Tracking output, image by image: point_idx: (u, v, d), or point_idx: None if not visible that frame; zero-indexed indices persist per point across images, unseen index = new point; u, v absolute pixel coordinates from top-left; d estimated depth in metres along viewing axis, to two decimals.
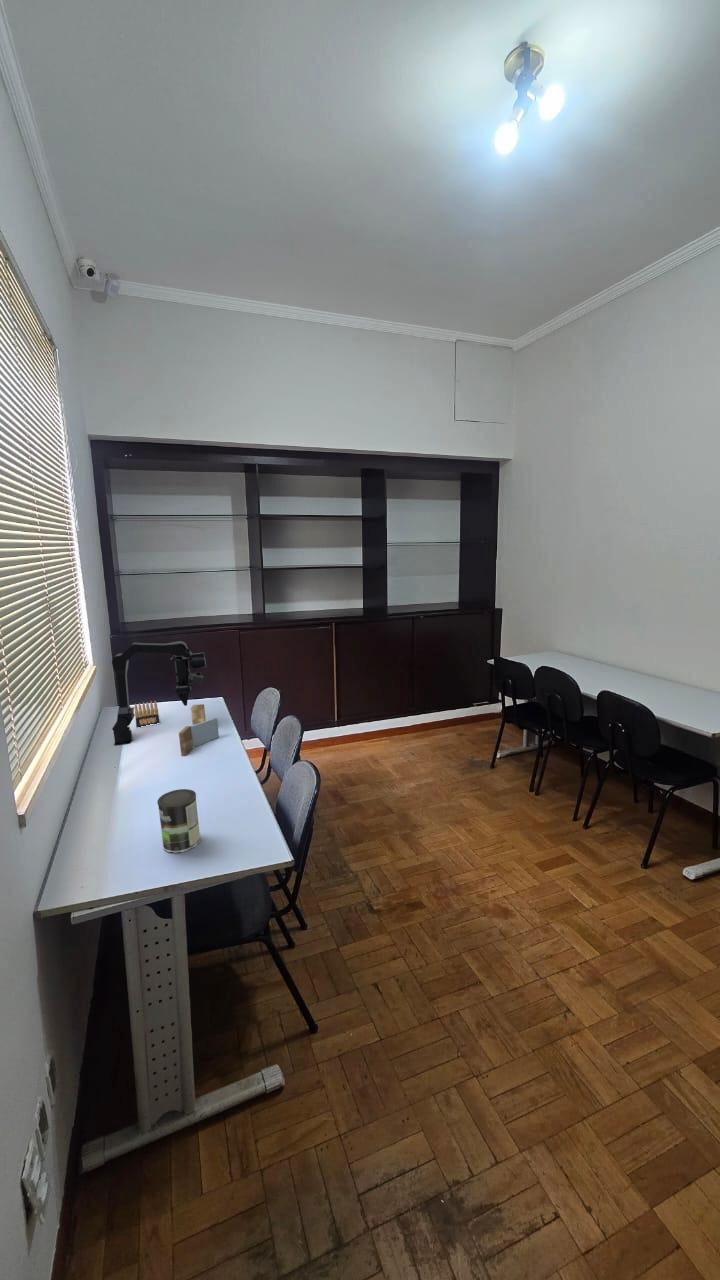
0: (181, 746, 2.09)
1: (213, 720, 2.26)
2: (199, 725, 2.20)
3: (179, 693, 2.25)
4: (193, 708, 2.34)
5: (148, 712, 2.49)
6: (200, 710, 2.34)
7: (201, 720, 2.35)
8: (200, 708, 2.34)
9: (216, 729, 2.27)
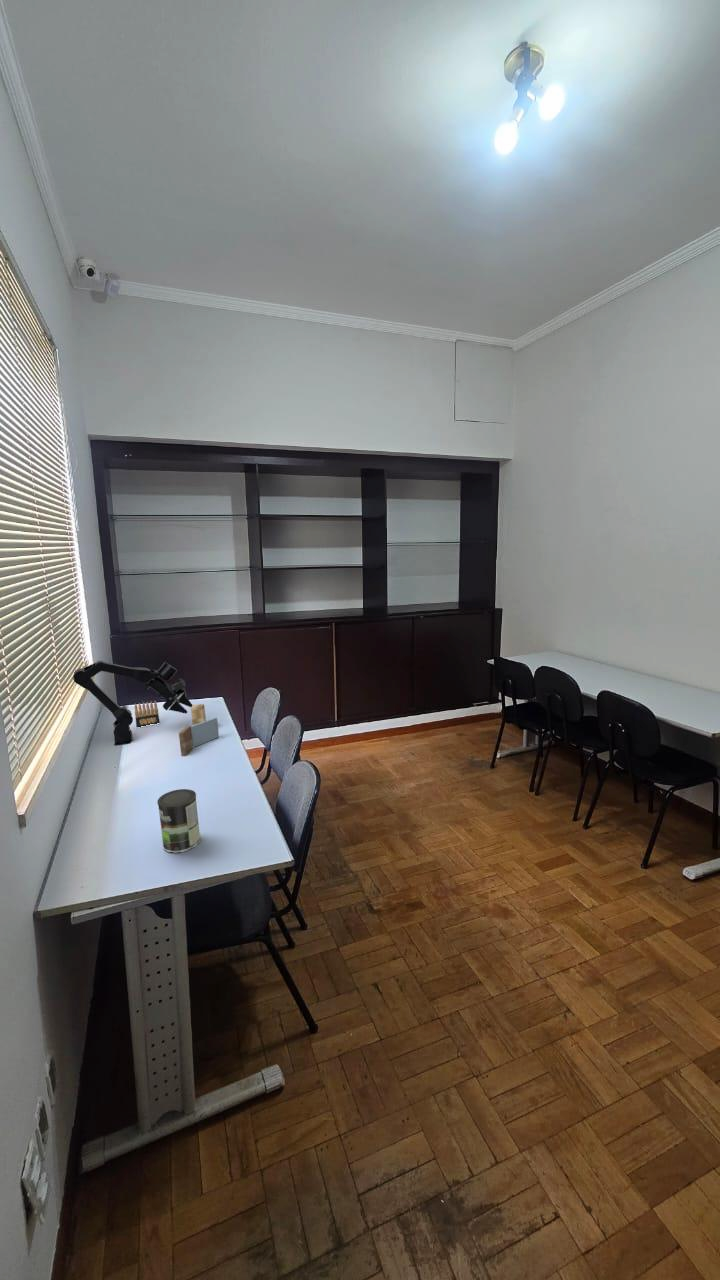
0: (181, 746, 2.09)
1: (213, 720, 2.26)
2: (199, 725, 2.20)
3: (170, 708, 2.27)
4: (194, 708, 2.34)
5: (148, 712, 2.49)
6: (200, 710, 2.34)
7: (201, 720, 2.35)
8: (200, 708, 2.34)
9: (216, 729, 2.27)
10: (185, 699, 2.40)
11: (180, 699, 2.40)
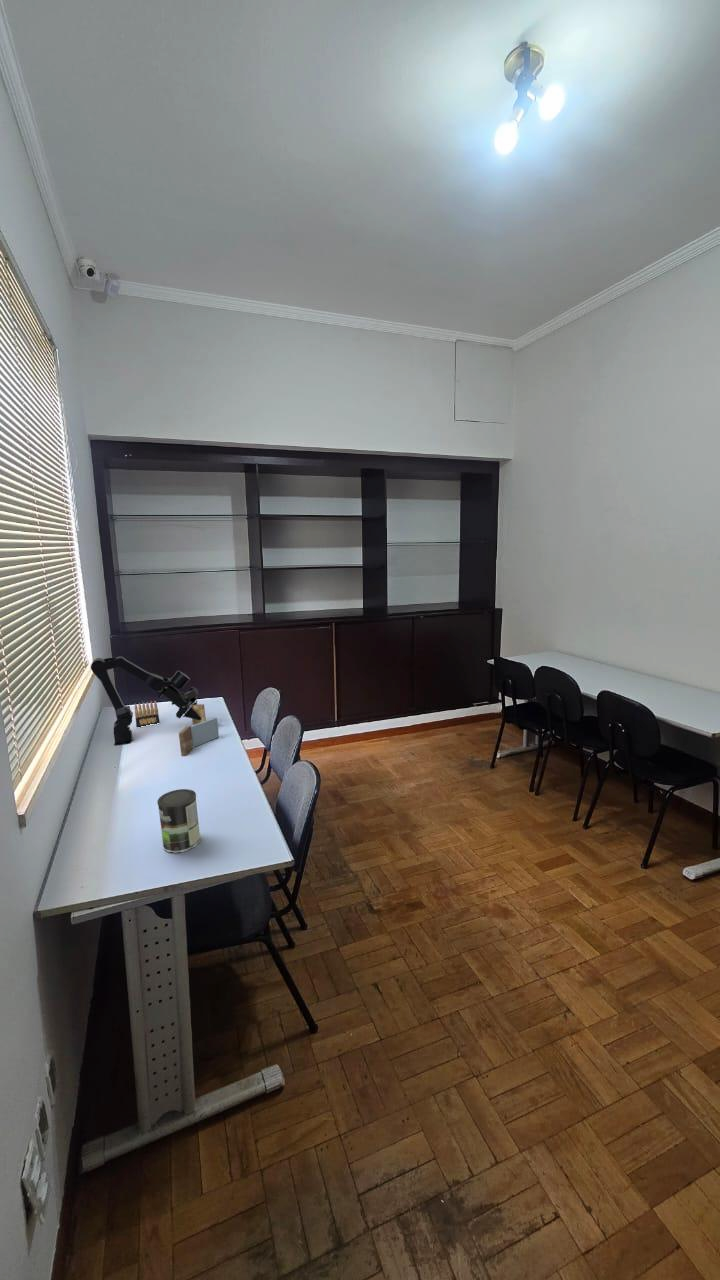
0: (181, 746, 2.09)
1: (213, 720, 2.26)
2: (199, 725, 2.20)
3: (184, 715, 2.31)
4: (194, 708, 2.34)
5: (148, 712, 2.49)
6: (200, 710, 2.34)
7: (201, 720, 2.35)
8: (200, 708, 2.34)
9: (216, 729, 2.27)
10: None
11: None
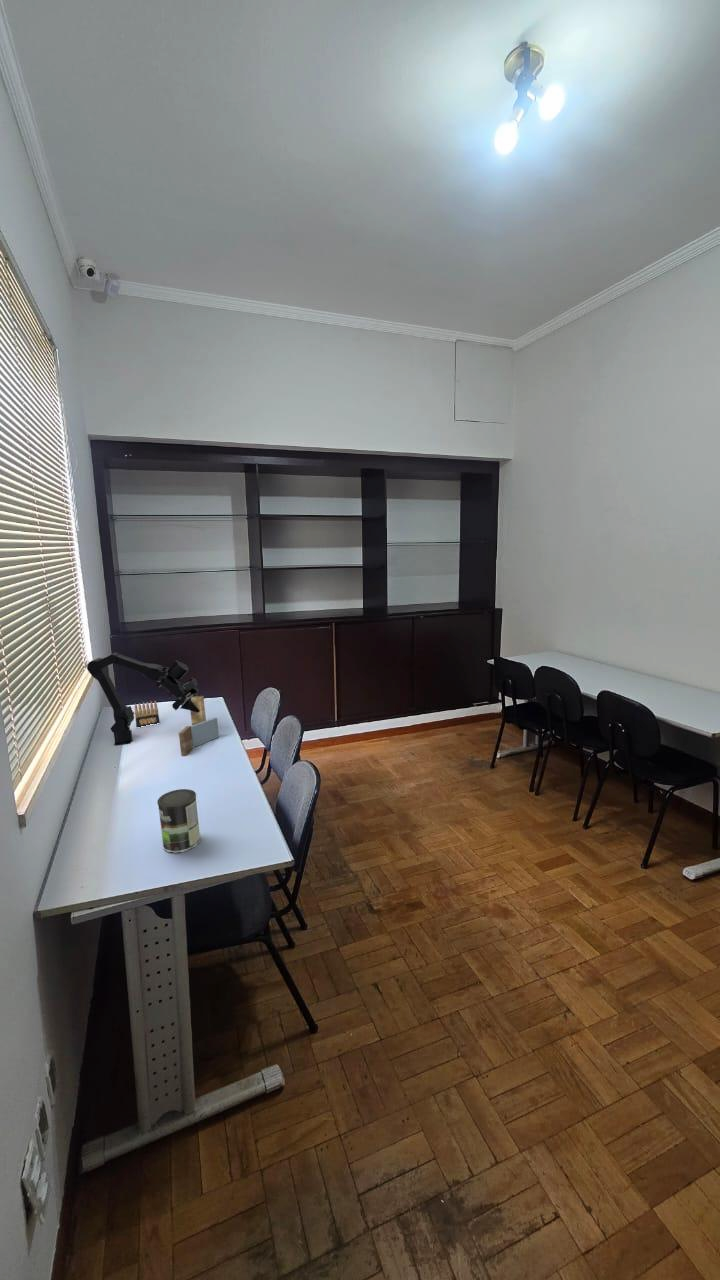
0: (181, 746, 2.09)
1: (213, 720, 2.26)
2: (199, 725, 2.20)
3: (181, 706, 2.22)
4: (192, 700, 2.25)
5: (148, 712, 2.49)
6: (198, 702, 2.25)
7: (199, 712, 2.25)
8: (198, 700, 2.24)
9: (216, 729, 2.27)
10: None
11: None
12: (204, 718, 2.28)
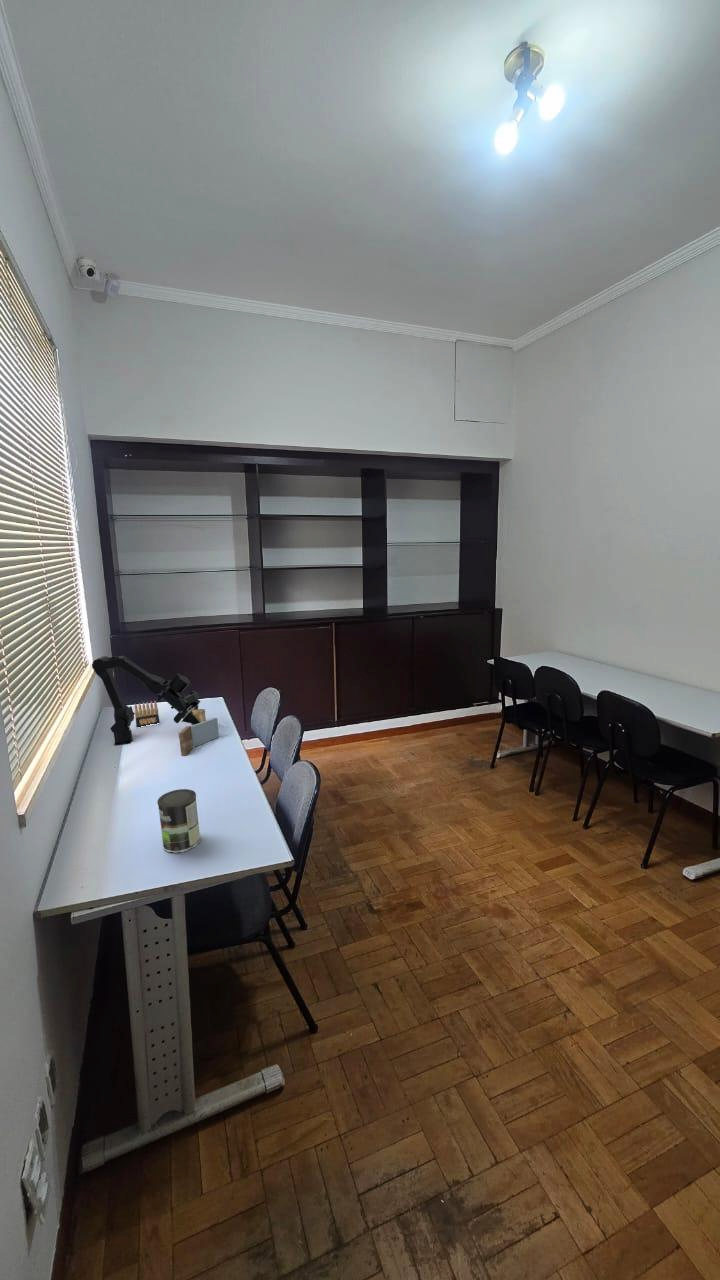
0: (181, 746, 2.09)
1: (213, 720, 2.26)
2: (199, 725, 2.20)
3: (183, 720, 2.22)
4: (193, 713, 2.25)
5: (148, 712, 2.49)
6: (200, 715, 2.25)
7: None
8: (200, 713, 2.25)
9: (216, 729, 2.27)
10: None
11: None
12: None
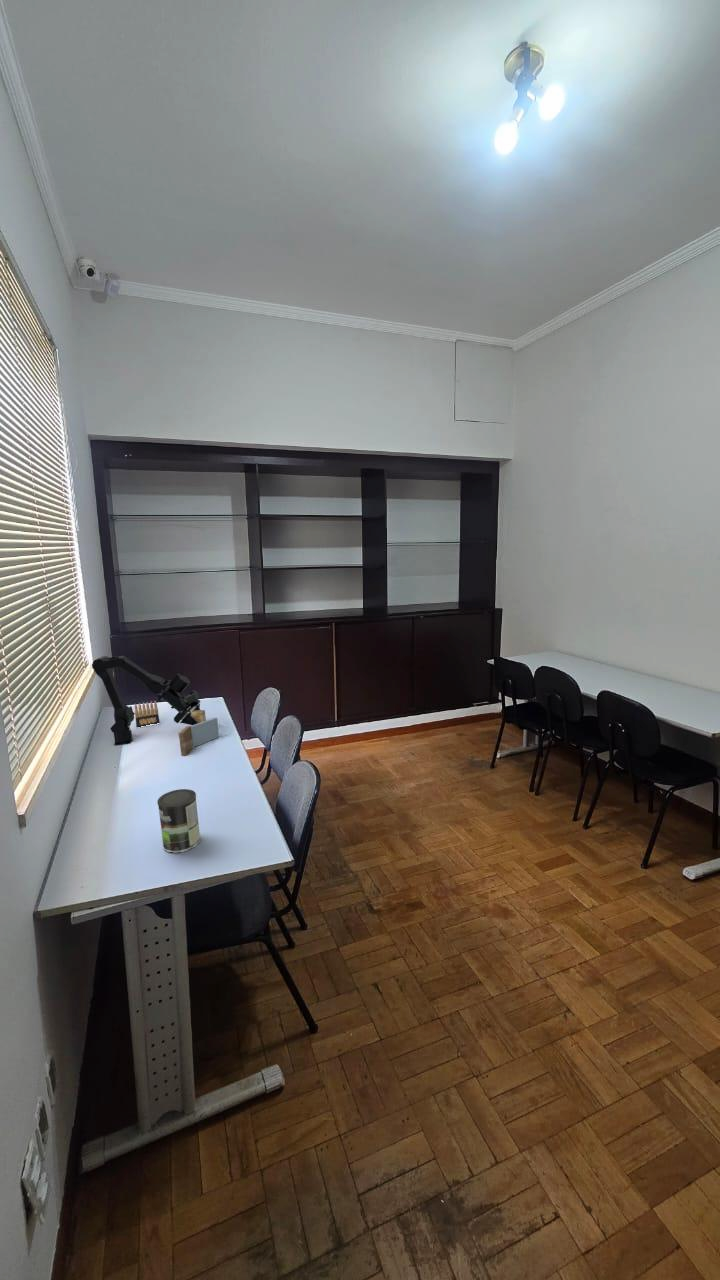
0: (181, 746, 2.09)
1: (213, 720, 2.26)
2: (199, 725, 2.20)
3: (181, 721, 2.21)
4: (193, 714, 2.25)
5: (148, 712, 2.49)
6: (200, 716, 2.25)
7: None
8: (200, 714, 2.25)
9: (216, 729, 2.27)
10: None
11: None
12: None
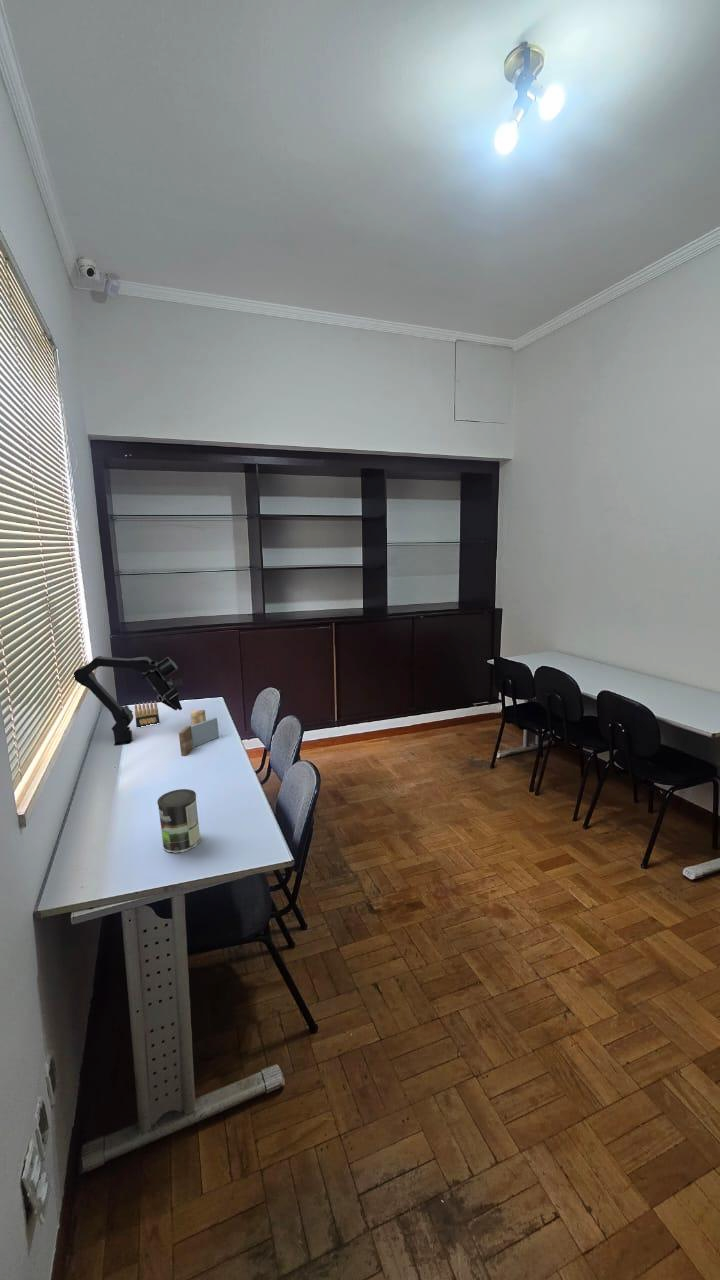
0: (181, 746, 2.09)
1: (213, 720, 2.26)
2: (199, 725, 2.20)
3: (170, 699, 2.22)
4: (193, 714, 2.25)
5: (148, 712, 2.49)
6: (200, 716, 2.25)
7: None
8: (200, 714, 2.25)
9: (216, 729, 2.27)
10: None
11: (166, 700, 2.34)
12: None
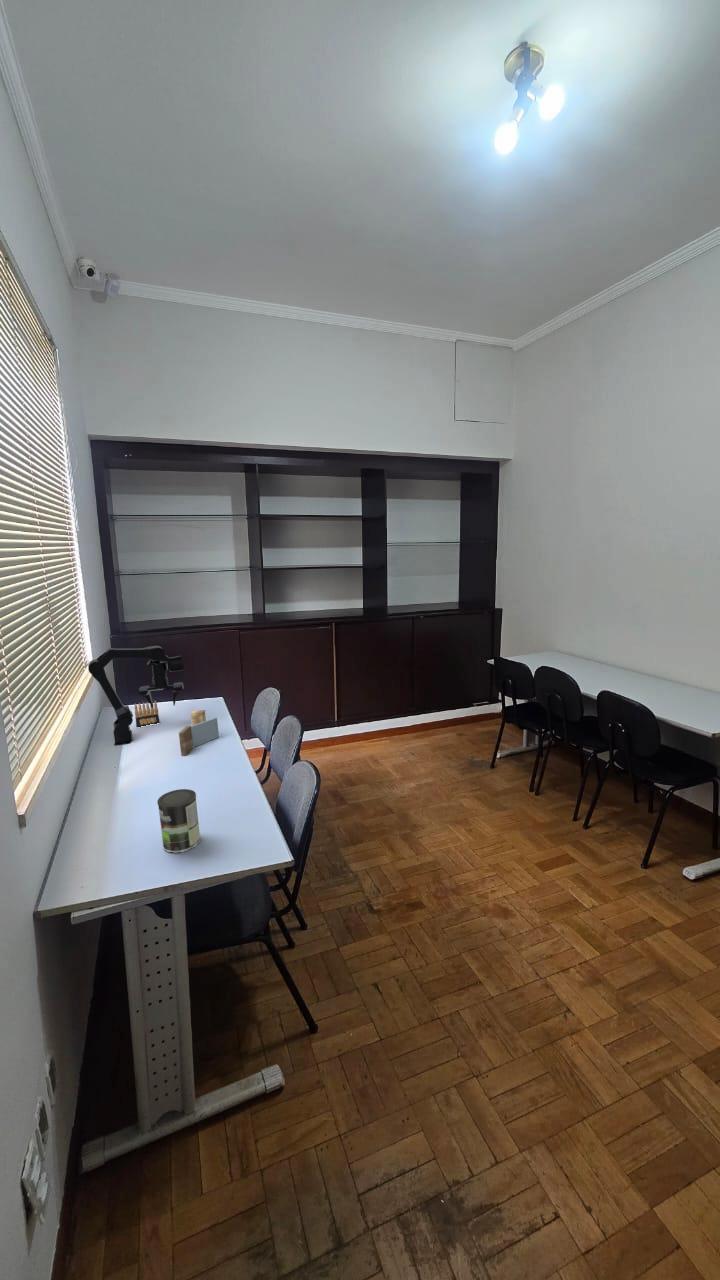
0: (181, 746, 2.09)
1: (213, 720, 2.26)
2: (199, 725, 2.20)
3: None
4: (193, 714, 2.25)
5: (148, 712, 2.49)
6: (200, 716, 2.25)
7: None
8: (200, 714, 2.25)
9: (216, 729, 2.27)
10: (151, 698, 2.34)
11: (150, 695, 2.32)
12: None
